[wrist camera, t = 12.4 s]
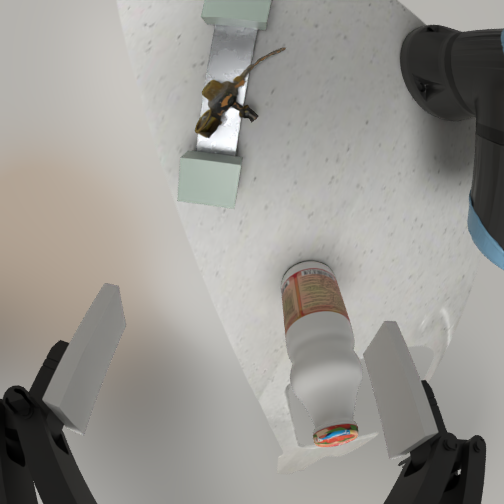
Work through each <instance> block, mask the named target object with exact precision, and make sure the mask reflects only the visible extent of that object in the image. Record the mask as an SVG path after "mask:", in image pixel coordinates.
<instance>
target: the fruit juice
mask: <svg viewBox="0 0 504 504" xmlns="http://www.w3.org/2000/svg"><path fill="white" fill-rule="evenodd" d="M281 293H282V303H283V314H284V325H285V338H286V347H287V353H288V356H289V359H290V361H291V362H292V368H291V372H290V383H291V388H292V390H293V392H294V394H295V395H296V396H297V397H298V399H299V400H300V401H301V402H302V404H303V405H304V407H305V409H306V410H307V412H308V414H309V416H310V418H311V420H312V422H313V424H314V425H315V429H314V432H313V434H314V435H313V439H314V443H315V444H316V445H317V446H320V447H332V446H338V445H342V444H345V443H348V442H350V441H352V440H354V439H355V438H357V436H358V426H357V424H356V422H355V421H353V416H354V410H355V404H356V398H357V393H358V389H359V386H360V384H361V381H362V376H363V369H362V364H361V361H360V359H359V357H358V356H357V354H356V353H355V351H354V345H355V340H354V334H353V329H352V326H351V323H350V320H349V317H348V314H347V311H346V308H345V305H344V302H343V299H342V296H341V293H340V290H339V287H338V284H337V281H336V278H335V276H334V274H333V272H332V271H331V269H330V268H329V267H327V266H326V265H324V264H322V263H320V262H315V261H307V262H302V263H299V264H297V265H295V266H293V267H292V268H290V269H289V270H288V271H287V273H286V274H285V275H284V277H283V280H282V284H281Z"/></svg>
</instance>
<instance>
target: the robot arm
mask: <svg viewBox="0 0 504 504" xmlns="http://www.w3.org/2000/svg"><path fill="white" fill-rule="evenodd" d="M401 69H402V74H403V77H404V80H405V83H406V85H407V88H408V90H409V91H410V93H411V95H412V96H413V98H414V99H415V101H416V102H417V103H418V104H419V105H420V106H421V107H422V108H423V109H424V110H425V111H427V112H428V113H430V114H431V115H433V116H436V117H438V118H442V119H445V120H450V121H461V120H465V119H469V118H473V117H476V139H475V158H474V171H473V179H472V187H471V190H470V194H469V212H468V229H469V232H470V234H471V236H472V240H473V241H474V243H475V245H476V246H477V247H478V249H479V250H480V251H481V252H482V253H483V254H484V256H486V257H487V258H488V259H489V260H490V261H491V262H493V263H494V264H495V265H497V266H498V267H500V268H501V269H503V270H504V29H487V30H475V31H467V32H460V31H458V30H454V29H451V28H448V27H444V26H440V25H428V26H424V27H420V28H417V29H415V30H413V31H412V32H411V33H410V34H409V35H408V36H407V37H406V39H405V41H404V43H403V46H402V50H401ZM125 327H126V323H125V317H124V312H123V307H122V301H121V296H120V290H119V286H117V285H113V284H108V283H105V284H104V285H103V287H102V288H101V290H100V292H99V293H98V295H97V297H96V298H95V300H94V301H93V303H92V305H91V306H90V308H89V310H88V311H87V313H86V315H85V317H84V318H83V320H82V322H81V324H80V325H79V327H78V329H77V331H76V333H75V334H74V336H73V338H72V340H71V342H70V343H67V342H64V341H61V340H60V341H59V342H57V343H56V344H55V345H54V346H53V347H52V348H51V350H50V352H49V353H48V355H47V359H45V361H44V363H43V366H42V367H41V368H40V370H39V373H38V374H37V376H36V378H35V381H34V382H33V385H32V387H31V389H30V391H29V392H28V391H27V390H26V389H25V388H24V387H21V386H12V387H10V388H8V390H7V391H6V392H5V394H4V397H3V399H0V504H38V501H37V497H36V492H35V487H34V483H35V486H36V488H37V490H38V493H39V495H40V498H41V500H42V502H43V504H97V503H96V501H95V499H94V497H93V495H92V494H91V492H90V490H89V488H88V486H87V484H86V482H85V480H84V478H83V476H82V474H81V472H80V470H79V468H78V466H77V464H76V462H75V459H74V457H73V455H72V453H71V450H70V448H69V445H68V443H67V440H66V438H65V435H64V433H63V431H62V428H63V426H64V425H65V426H66V427H67V428H68V429H69V430H72V431H74V432H77V433H79V434H81V435H84V434H85V431H86V428H87V425H88V422H89V419H90V416H91V413H92V410H93V407H94V404H95V402H96V399H97V396H98V393H99V391H100V388H101V385H102V383H103V380H104V377H105V375H106V372H107V370H108V367H109V365H110V362H111V360H112V357H113V355H114V353H115V350H116V348H117V345H118V343H119V340H120V338H121V336H122V333H123V331H124V329H125ZM363 356H364V359H365V363H366V366H367V369H368V373H369V377H370V380H371V384H372V388H373V391H374V395H375V399H376V403H377V407H378V411H379V414H380V419H381V423H382V427H383V432H384V436H385V441H386V445H387V450H388V455H389V459H394V458H399V457H402V456H404V455H406V454H407V453H409V452H410V455H411V456H410V457H408V458H407V459H405V460H403V461H401V462H400V463H399V466H400V465H402V464H404V463H405V465H404V466H403V467H402V468H403V469H402V471H401V473H400V475H399V477H398V479H397V481H396V483H395V485H394V486H393V489H392V490H391V492H390V494H389V496H388V497H387V499H386V500H385V502H384V504H481V500H482V492H483V485H484V475H485V461H486V443H485V441H484V439H483V438H482V437H481V436H479V435H475V436H473V437H472V438H471V439H469V440H460V439H457V438H456V436H454V435H453V434H452V433H448V432H447V430H446V428H445V425H444V422H443V419H442V416H441V413H440V410H439V407H438V406H437V402H436V399H435V398H434V397H435V396H434V393H433V391H432V388H431V387H430V386H429V384H428V383H427V381H426V380H422V381H421V380H420V377H419V375H418V372H417V370H416V367H415V365H414V362H413V360H412V357H411V355H410V352H409V350H408V348H407V345H406V343H405V340H404V338H403V336H402V334H401V331H400V329H399V327H398V325H397V322H396V321H384V323H383V324H382V326H381V327H380V329H379V331H378V332H377V334H376V335H375V337H374V338H373V340H372V342H371V343H370V345H369V346H368V348H367V349H366V351H365V352H364V354H363ZM460 469H461V474H459V475H458V470H460ZM33 481H34V482H33Z"/></svg>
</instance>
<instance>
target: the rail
mask: <svg viewBox="0 0 504 504" xmlns="http://www.w3.org/2000/svg"><path fill="white" fill-rule="evenodd" d="M257 32H258V29H254V28H246V27H237V26H227V25H215V30H214V35H213V40H212V45H211V51H210V56H209V62H208V68H207V74H206V80H205V86H206V85H207V84H208V83H209V82H210V81H211V80H216V81H218V82H219V83H223V82H225V81H229V82H231V83H233V82H234V81H233V80H234V78H235V77H236V76H240V75H241V74H242V72H243V71H244V70H245V69H246V68H247V67H248V66H249V65H251V63H252V57H253V52H254V47H255V42H256V37H257ZM249 74H250V72H249V73H248V74H247V75H246V77H245V78H244V79H245V83H244V84H243V86H240V87H239V88H238V89H237V91H238V95H237V99H236V102H237V103H239V104H240V105H242V107H244V102H245V96H246V91H247V85H248V79H249ZM209 109H210V108H209V107H208V99H207V98H205V97H204V96H203V100H202V107H201V115H200V118H201V116H202V115H203V114H204V113H205V112H206V111H207V110H209ZM205 118H206V117H205V116H203V117H202V120H204V119H205ZM241 120H242V118H240V117H239V111H238V110H236V109H234V108H232V107H230V108H229V109H228V110H227V111H225V112H224V113H223V114H222V115H221V121H222V124H220V125H219V126H218V128H217V130H216V131H215V132H214V133H213V134H212V135H211V137H210V138H208V137H207V138H205V137H203V136H202V135H200V134H198V138H197V147H196V151H198V152H206V153H214V154H222V155H229V156H236V151H237V144H238V138H239V132H240V126H241Z"/></svg>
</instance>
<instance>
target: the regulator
mask: <svg viewBox="0 0 504 504" xmlns="http://www.w3.org/2000/svg"><path fill="white" fill-rule="evenodd" d="M283 50H285V48H280V49H278V50H275V51H273V52H271V53H269V54H268V55H266V56H264V57H262V58H260V59H258V60H257V62H256V63H255V64H253V65H249V66H248V67H247V68H246V69H245V70H244V71H243V72H242V74H241V75H240V76H236V77H235V78H234V80H233V81H234V82H233V83H231V82H229V81H225V82H223V83H219V82H218V81H216V80H211V81H210V82H209V83H208V84H207V85H206V86H205V87H204V89H203V91H202V95H203V96H204V97H205V98H207V99H208V107H209V108H210V109H209V110H207V111H206V112H205V113H204V114H203V115H202V116H201V118H200V119H199V121H198V123H197V125H196V128H195V132H196V133H197V134H200V135H202V136H203V137H205V138H207V137H208V138H210V137H211V135H212V134H213V133H214V132H215V131H216V130H217V128H218V126H219V125H220V124H222V121H221V115H222V114H223V113H224V112H225V111H227V110H228V109H229V108H230V107H232V108H234V109H236V110H238V111H239V117H240V118H242V117H243V118H249V119H250V121H251V123H252V122H253V121H254V120H256V119H257V117H258V115H257V114H256V113H255V112H254V111H253V110H252V109H250V108H249V106H248V105H245V106H244V107H242V105H240V104H239V103H237V102H236V99H237V95H238V91H237V89H238V88H239V87H240V86H243V84H244V83H245V79H244V78H245V77H246V75H247V74H248V73H249V72H250V71H251V69H253V67H254V66H255V65H257V64H258V63H259V62H260V61H262V60H264V59H266V58H267V57H269V56H271V55H274V54H276V53H279V52H281V51H283ZM203 116H205V117H206V118H205V119H204V120H202V117H203Z"/></svg>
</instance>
